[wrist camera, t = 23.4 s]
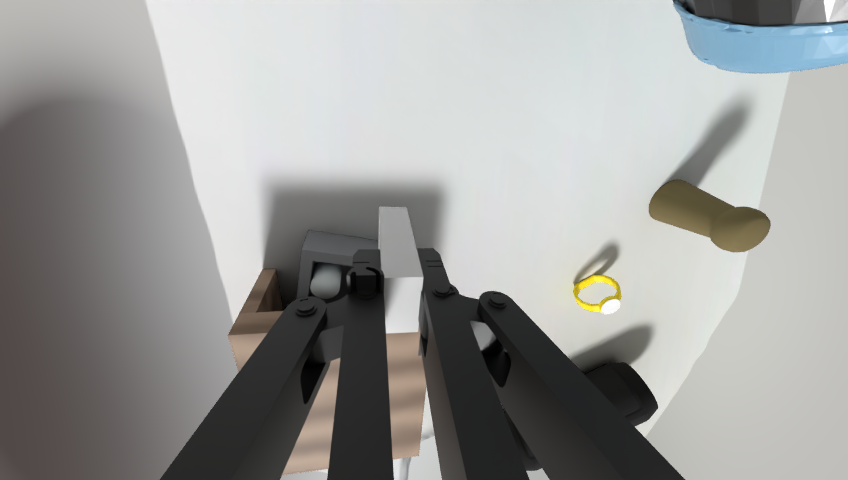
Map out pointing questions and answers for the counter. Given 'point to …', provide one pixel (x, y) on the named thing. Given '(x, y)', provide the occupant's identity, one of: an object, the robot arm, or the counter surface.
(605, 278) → the watch
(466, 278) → the counter surface
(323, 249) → the tray
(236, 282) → the counter surface
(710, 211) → the cork
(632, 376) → the portable speaker
